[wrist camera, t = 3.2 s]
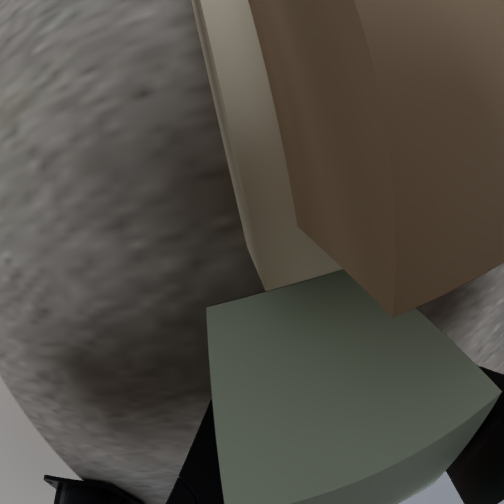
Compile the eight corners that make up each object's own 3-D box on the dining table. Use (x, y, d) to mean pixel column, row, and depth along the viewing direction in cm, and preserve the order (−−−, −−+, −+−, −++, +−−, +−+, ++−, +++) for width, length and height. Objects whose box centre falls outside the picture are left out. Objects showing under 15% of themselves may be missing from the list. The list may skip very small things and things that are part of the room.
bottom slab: (244, 240, 8) (266, 291, 6) (178, -53, 4) (174, -110, 2) (477, 185, 9) (531, 203, 6) (428, -31, 5) (473, -50, 2)
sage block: (244, 407, 10) (275, 545, 5) (206, 307, 8) (225, 515, 3) (362, 370, 11) (433, 483, 5) (363, 263, 9) (502, 391, 3)
